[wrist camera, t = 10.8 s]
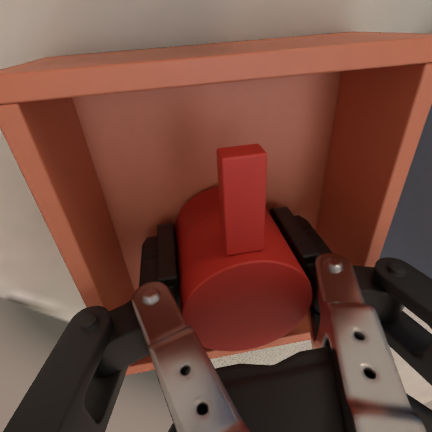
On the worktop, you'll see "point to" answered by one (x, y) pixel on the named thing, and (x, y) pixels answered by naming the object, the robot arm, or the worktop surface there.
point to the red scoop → (237, 260)
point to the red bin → (216, 142)
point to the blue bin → (414, 210)
